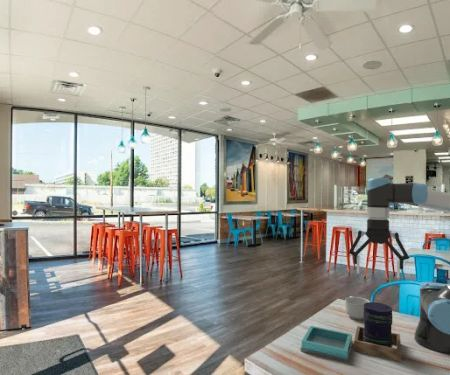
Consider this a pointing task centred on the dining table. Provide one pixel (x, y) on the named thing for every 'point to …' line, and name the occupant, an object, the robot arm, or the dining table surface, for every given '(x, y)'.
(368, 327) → the navy oil drum
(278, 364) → the dining table surface
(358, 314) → the teacup
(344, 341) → the teal square tray
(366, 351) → the walnut holder
